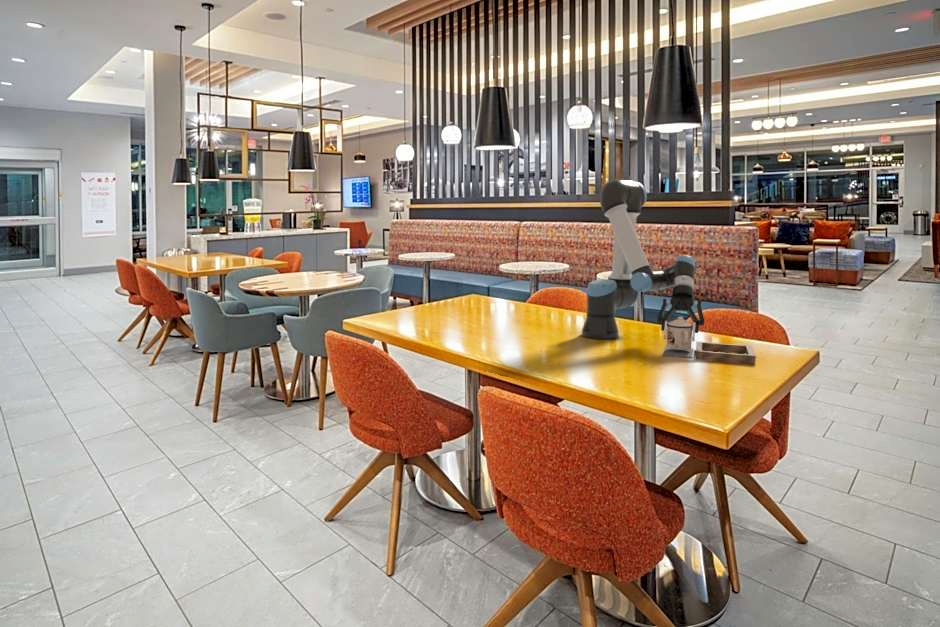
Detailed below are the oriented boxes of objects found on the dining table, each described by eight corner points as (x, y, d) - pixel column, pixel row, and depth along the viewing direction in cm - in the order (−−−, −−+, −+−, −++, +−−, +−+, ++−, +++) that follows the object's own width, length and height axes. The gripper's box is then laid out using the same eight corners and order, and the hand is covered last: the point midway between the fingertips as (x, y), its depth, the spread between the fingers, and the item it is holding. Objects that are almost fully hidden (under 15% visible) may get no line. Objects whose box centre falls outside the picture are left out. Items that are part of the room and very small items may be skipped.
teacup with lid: (662, 345, 221) (664, 314, 219) (686, 345, 221) (688, 314, 219) (673, 352, 209) (675, 320, 208) (698, 352, 209) (700, 320, 208)
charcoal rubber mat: (662, 355, 211) (662, 354, 211) (665, 347, 225) (665, 346, 224) (692, 358, 207) (692, 357, 207) (693, 349, 221) (693, 348, 221)
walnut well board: (695, 359, 205) (695, 351, 205) (695, 349, 222) (696, 341, 221) (755, 364, 199) (755, 356, 198) (751, 353, 215) (751, 345, 215)
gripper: (653, 282, 225) (647, 330, 213) (714, 284, 217) (712, 334, 205) (653, 294, 231) (648, 341, 219) (713, 297, 223) (710, 346, 211)
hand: (678, 338), depth 212 cm, fingers closed on teacup with lid, 9 cm apart
